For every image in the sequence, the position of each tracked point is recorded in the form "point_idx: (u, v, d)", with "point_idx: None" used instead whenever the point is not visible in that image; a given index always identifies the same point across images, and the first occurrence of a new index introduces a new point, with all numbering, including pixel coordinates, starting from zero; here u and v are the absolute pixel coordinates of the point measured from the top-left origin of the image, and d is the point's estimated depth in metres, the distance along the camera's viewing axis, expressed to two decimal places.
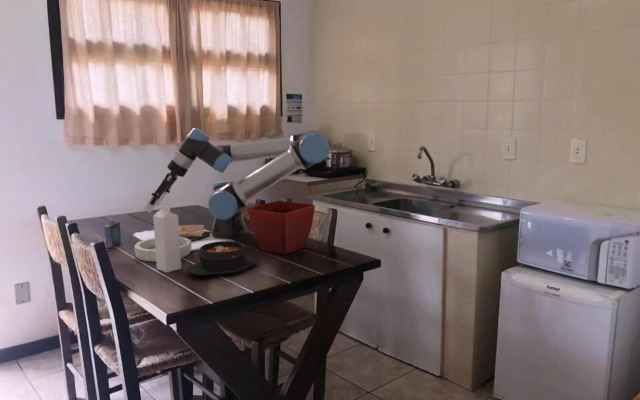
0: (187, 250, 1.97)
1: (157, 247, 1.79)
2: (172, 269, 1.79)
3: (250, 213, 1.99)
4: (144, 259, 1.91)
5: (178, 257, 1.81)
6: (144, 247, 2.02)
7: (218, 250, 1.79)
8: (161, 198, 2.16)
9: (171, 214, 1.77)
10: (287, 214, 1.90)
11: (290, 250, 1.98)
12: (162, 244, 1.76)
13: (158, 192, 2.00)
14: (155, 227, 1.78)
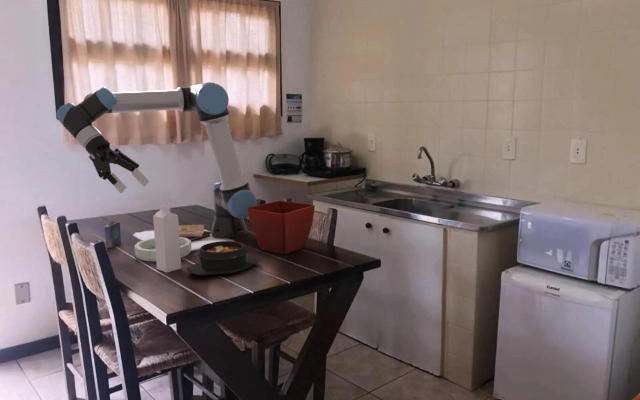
0: (187, 250, 1.97)
1: (157, 247, 1.79)
2: (172, 269, 1.79)
3: (250, 213, 1.99)
4: (144, 259, 1.91)
5: (178, 258, 1.81)
6: (144, 247, 2.02)
7: (218, 250, 1.79)
8: (140, 175, 1.85)
9: (171, 214, 1.77)
10: (287, 214, 1.90)
11: (290, 250, 1.98)
12: (162, 244, 1.76)
13: (99, 170, 1.70)
14: (155, 227, 1.78)
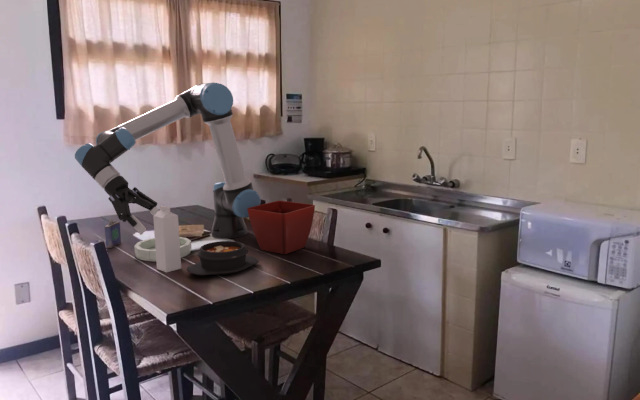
0: (187, 250, 1.97)
1: (157, 247, 1.79)
2: (172, 269, 1.79)
3: (250, 213, 1.99)
4: (144, 259, 1.91)
5: (178, 257, 1.81)
6: (144, 247, 2.02)
7: (218, 250, 1.79)
8: None
9: (171, 214, 1.77)
10: (287, 214, 1.90)
11: (290, 250, 1.98)
12: (162, 244, 1.76)
13: (119, 213, 1.70)
14: (155, 227, 1.78)
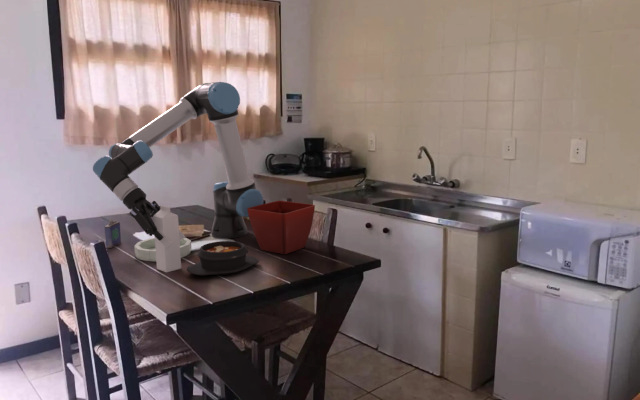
0: (187, 250, 1.97)
1: (157, 247, 1.79)
2: (172, 269, 1.79)
3: (250, 213, 1.99)
4: (144, 259, 1.91)
5: (178, 257, 1.81)
6: (144, 247, 2.02)
7: (218, 250, 1.79)
8: None
9: (171, 214, 1.77)
10: (287, 214, 1.90)
11: (290, 250, 1.98)
12: (162, 244, 1.76)
13: (145, 228, 1.72)
14: None
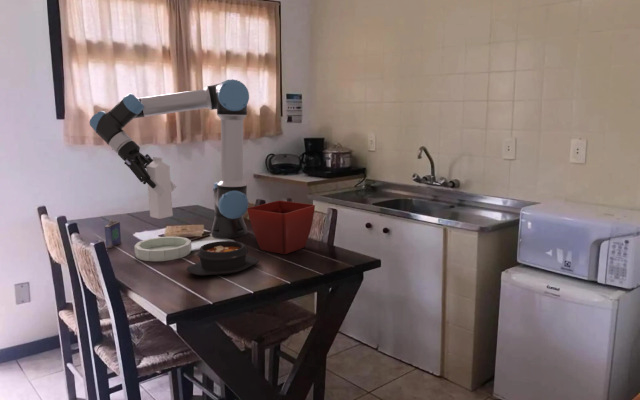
0: (187, 250, 1.97)
1: (150, 196, 1.93)
2: (164, 216, 1.93)
3: (250, 213, 1.99)
4: (144, 259, 1.91)
5: (170, 206, 1.95)
6: (144, 247, 2.02)
7: (218, 250, 1.79)
8: None
9: (163, 164, 1.91)
10: (287, 214, 1.90)
11: (290, 250, 1.98)
12: (155, 192, 1.90)
13: (139, 176, 1.86)
14: None
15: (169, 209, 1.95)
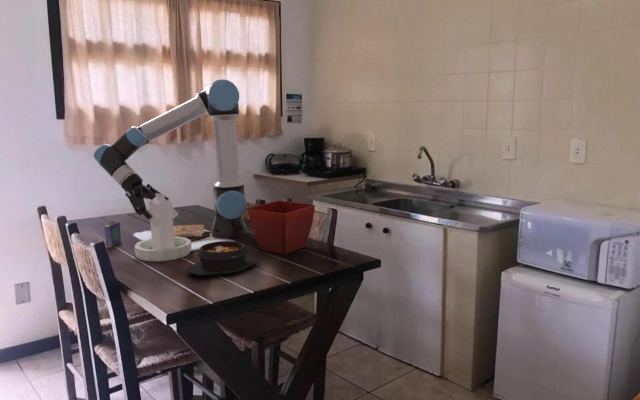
0: (187, 250, 1.97)
1: (152, 231, 1.97)
2: None
3: (250, 213, 1.99)
4: (144, 259, 1.91)
5: (172, 240, 1.99)
6: (144, 247, 2.02)
7: (218, 250, 1.79)
8: None
9: (165, 201, 1.95)
10: (287, 214, 1.90)
11: (290, 250, 1.98)
12: (158, 228, 1.95)
13: (136, 207, 1.88)
14: None
15: (171, 244, 1.99)
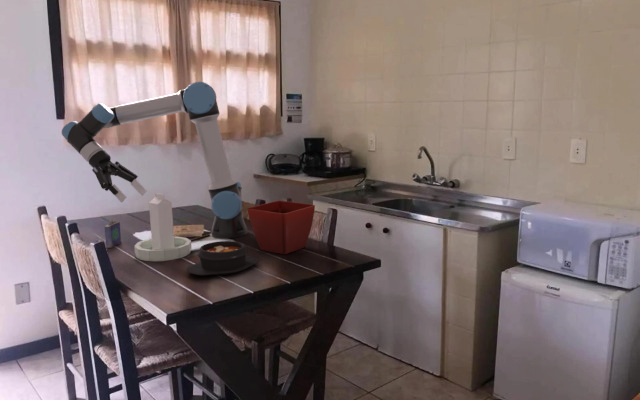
0: (187, 250, 1.97)
1: (152, 231, 1.97)
2: None
3: (250, 213, 1.99)
4: (144, 259, 1.91)
5: (172, 240, 1.99)
6: (144, 247, 2.02)
7: (218, 250, 1.79)
8: (139, 185, 2.04)
9: (165, 201, 1.95)
10: (287, 214, 1.90)
11: (290, 250, 1.98)
12: (157, 228, 1.95)
13: (102, 182, 1.89)
14: (151, 213, 1.96)
15: (171, 244, 1.99)
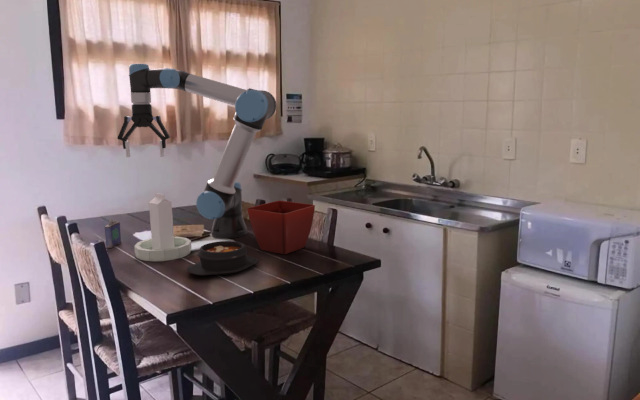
0: (187, 250, 1.97)
1: (152, 231, 1.97)
2: None
3: (250, 213, 1.99)
4: (144, 259, 1.91)
5: (172, 240, 1.99)
6: (144, 247, 2.02)
7: (218, 250, 1.79)
8: None
9: (165, 201, 1.95)
10: (287, 214, 1.90)
11: (290, 250, 1.98)
12: (157, 228, 1.95)
13: None
14: (151, 213, 1.96)
15: (171, 244, 1.99)
